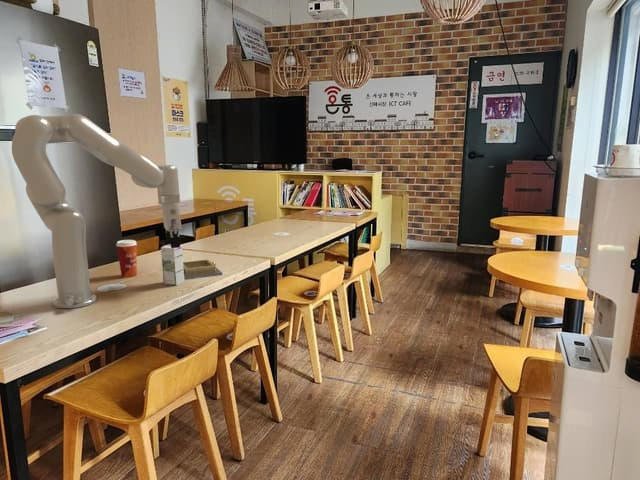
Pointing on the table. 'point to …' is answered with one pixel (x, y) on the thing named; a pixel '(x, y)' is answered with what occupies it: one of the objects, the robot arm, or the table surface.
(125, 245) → the paper cup
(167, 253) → the syrup box
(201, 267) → the gray gold framed panel
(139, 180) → the robot arm
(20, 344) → the table surface
